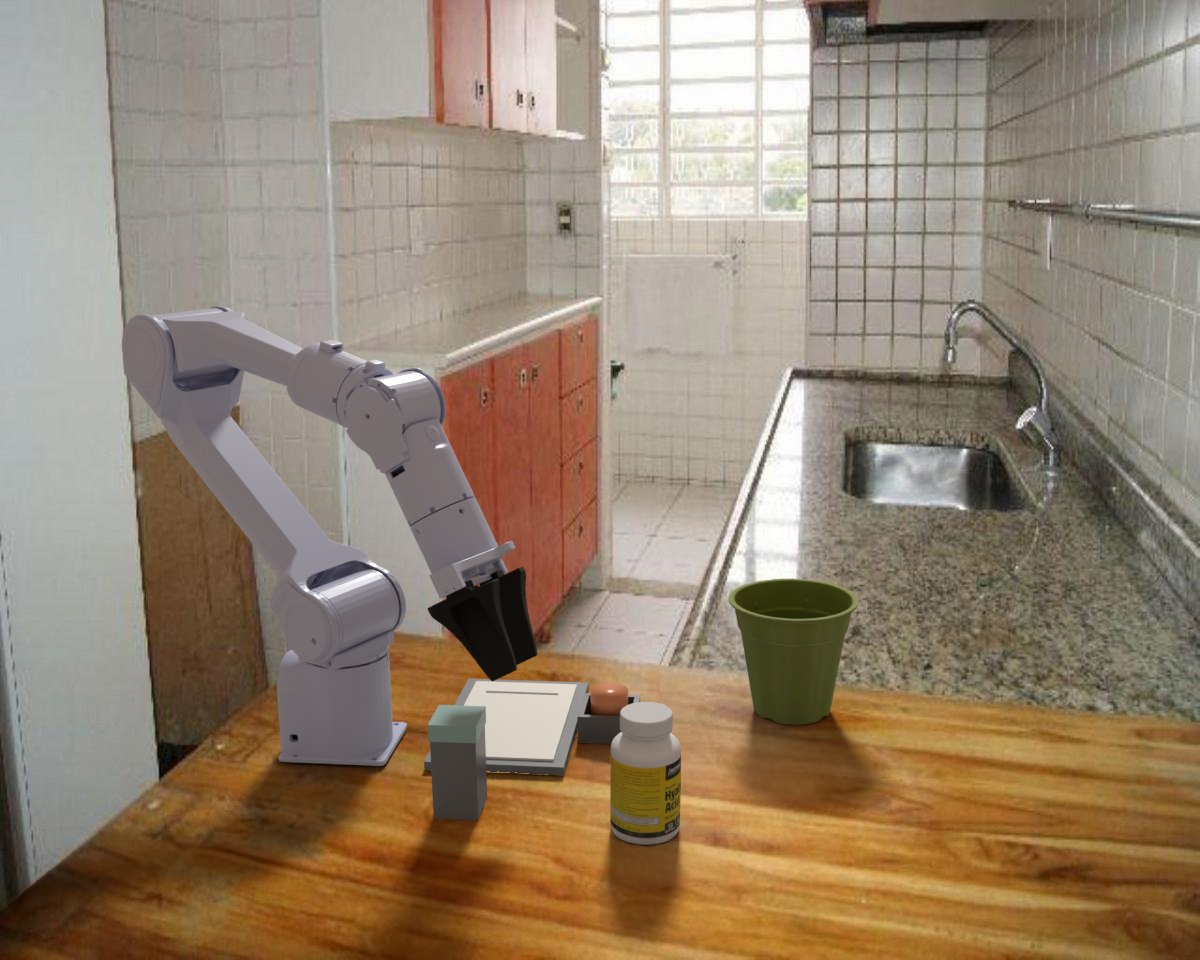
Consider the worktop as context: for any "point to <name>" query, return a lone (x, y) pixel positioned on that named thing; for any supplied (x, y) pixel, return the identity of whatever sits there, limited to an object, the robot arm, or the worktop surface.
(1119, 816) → the worktop surface
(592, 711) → the button
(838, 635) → the plant pot
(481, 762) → the block
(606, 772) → the worktop surface
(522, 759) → the sketch board
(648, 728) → the supplement bottle
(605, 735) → the button housing
